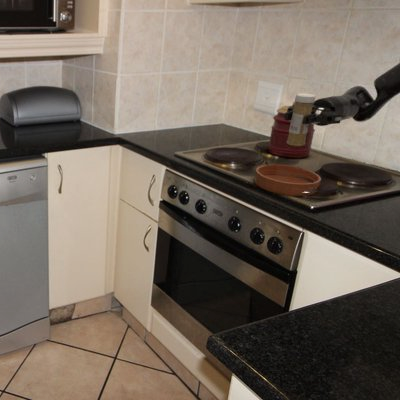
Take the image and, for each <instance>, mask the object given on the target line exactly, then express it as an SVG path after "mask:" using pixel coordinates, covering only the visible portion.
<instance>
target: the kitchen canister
mask: <svg viewBox="0 0 400 400" xmlns="http://www.w3.org/2000/svg"><path fill="white" fill-rule="evenodd" d="M295 102H296V101H295V100H294V102H292V105H295ZM290 106H291V105H284V106H282V107H280V108H278V109H276V112H277V114H275V115H273V117H272V119H273V125H271V127H270V128H271V130H270V131H271V132H270V137H269V142H268V147H267V148H268V152H269V154H272V155H274V156H279V157H284V158H307V157H308V156H310V154H311V151H312V144H313V139H314V135H315V132H316V129H315V124H314V123H310V124H309V127H308V131H307V135H306V140H305V145H303V146H292V145H289V144H287V140H288V135H289V129H290V124H291V120H289V121H287V120H285V118H284V117H285V113H286V112H287V110H288V108H289V107H290Z"/></svg>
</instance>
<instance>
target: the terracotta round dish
mask: <svg viewBox="0 0 400 400" xmlns="http://www.w3.org/2000/svg"><path fill="white" fill-rule="evenodd" d="M292 175H293V176H292ZM297 176H299V177H297ZM300 177H304V178H307V179H310V180H312V181H314V182H313V183H312V182H310V181H308V180H306V179H304V178H300ZM253 180H254V183H255V185H256V186H257V187H259V188H260V189H263V190H265V191H267V192H270V193H274V194H278V195H282V196H283V195H284V196H290V197H308V196H313V195H315V194H316V193H317V192H318V191H319V190H320V186H321V182H322V177H321V176H320V175H319V174H317V173H316V172H314V171H311V170H309V169H306V168H302V167H299V166H298V167H297V166H294V165H288V164H287V165H286V164H264V165H260V166H258V167H256V169H255V174H254V179H253ZM318 187H319V189H318V190H317V191H314V192H310V193H302V192H304V191H308V190H314V189H317V188H318Z"/></svg>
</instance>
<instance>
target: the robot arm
mask: <svg viewBox="0 0 400 400" xmlns="http://www.w3.org/2000/svg"><path fill="white" fill-rule="evenodd" d="M373 86H374V90H375V92H376V97H375V98H374V97H373V96H372V95H371V93H370V92H369V91H368V89H367V88H366V87H364V86H361V85H355V86H353V87H352V86H351V88H349V89H347V90H346V91H345V92H344V93H342V95H332V96H327V97H322V98H318V99H315V102H314V104H313V107H312V111H311V114H310V115H306V116H304V119H303V124H310V123H314V126H318V127H319V126H320V127H325V126H329V125H335V124H336V125H337V124H341V122H342V121H345V120H349V119H352V120H353V121H355V122H358V123H364V122H367V121H370V119H372V118H373V117H374V116H376V115H377V114H378V112H379V111H380V110H382V108H383V107H384V106H385V105H386V104H387V103H388V102H390V101H391V100H392V99H393V98H395V97H396V96H398V95H400V62H398V63H397V64H396V65H394V66H392V67H391V68H390V69H388V70H386V71H385V72H383V73H381V75H379V76H378V77H376V78H375V79H374V80H373ZM289 106H290V107H289V108H288V110H287V112H286V113H285V117H284V118H285V120H287V121H289V120H291V119H292V114H293V111H294V106H295V105H293V104H292V105H289Z"/></svg>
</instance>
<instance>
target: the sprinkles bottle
mask: <svg viewBox="0 0 400 400" xmlns="http://www.w3.org/2000/svg"><path fill="white" fill-rule="evenodd" d="M294 101H296V102H295V106H294V111H293V114H292V119H291V124H290V129H289V135H288V140H287V144H289V145H292V146H303V145H305V140H306V135H307V131H308V127H309V124H303V119H304V116H306V115H310V114H311V111H312V107H313V104H314V102H315V101H316V95H315V94H314V93H313V94H312V93H307V92H304V93H303V92H299V93H296V95H295V97H294Z"/></svg>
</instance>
